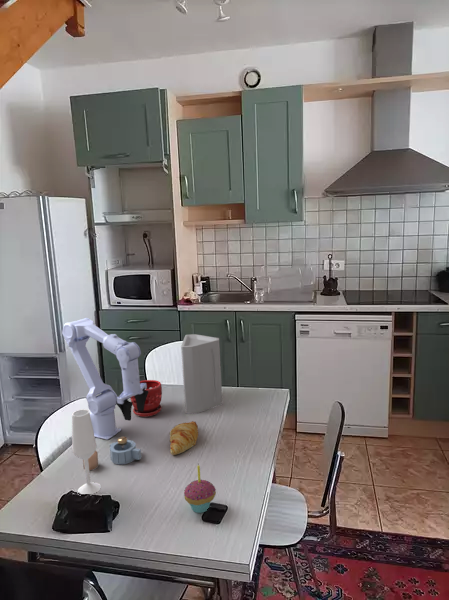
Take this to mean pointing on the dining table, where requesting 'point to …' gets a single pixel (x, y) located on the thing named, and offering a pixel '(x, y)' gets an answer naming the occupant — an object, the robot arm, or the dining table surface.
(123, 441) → the plunger
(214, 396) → the grey tall triangular prism
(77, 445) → the champagne flute
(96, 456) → the tan rounded cylinder
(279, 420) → the dining table surface
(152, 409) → the plant pot
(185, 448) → the croissant
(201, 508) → the cupcake
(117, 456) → the press pot
